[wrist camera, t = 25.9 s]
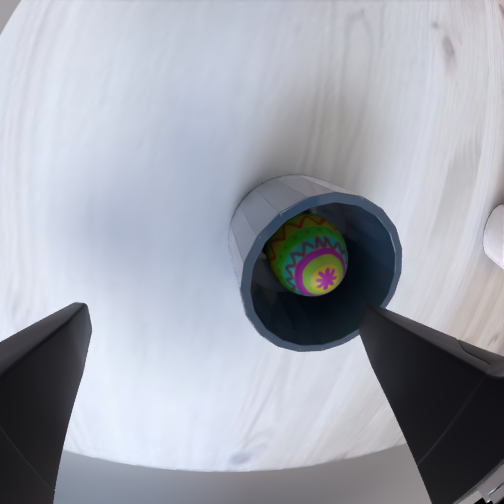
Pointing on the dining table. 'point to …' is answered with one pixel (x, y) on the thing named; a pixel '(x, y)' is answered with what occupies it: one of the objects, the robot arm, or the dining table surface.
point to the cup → (334, 302)
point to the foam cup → (495, 236)
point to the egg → (307, 255)
